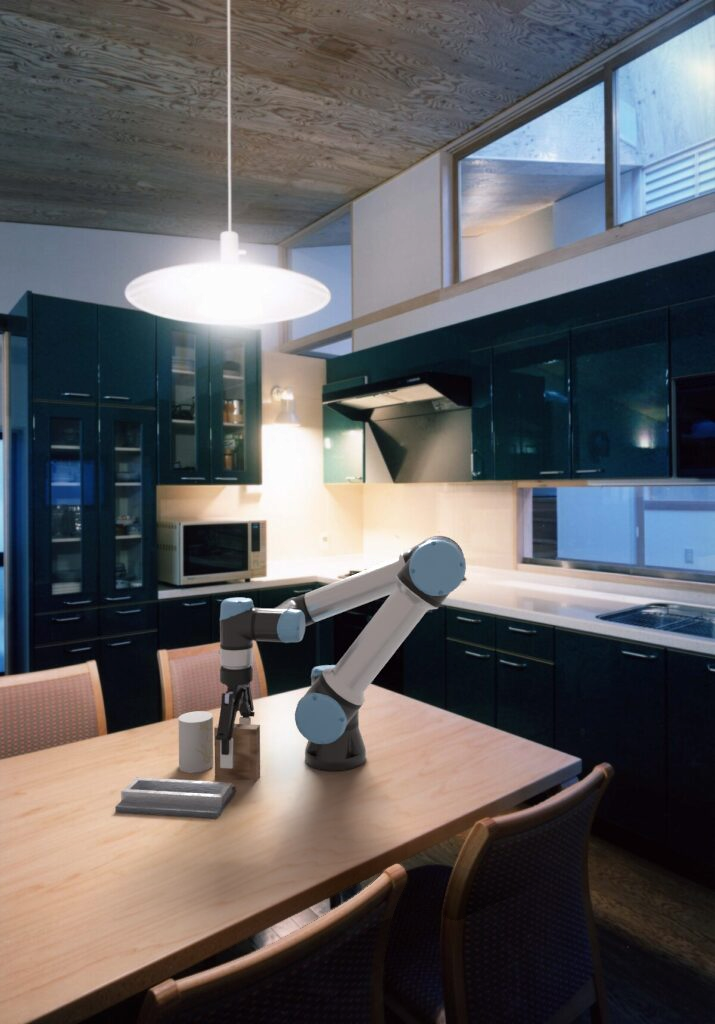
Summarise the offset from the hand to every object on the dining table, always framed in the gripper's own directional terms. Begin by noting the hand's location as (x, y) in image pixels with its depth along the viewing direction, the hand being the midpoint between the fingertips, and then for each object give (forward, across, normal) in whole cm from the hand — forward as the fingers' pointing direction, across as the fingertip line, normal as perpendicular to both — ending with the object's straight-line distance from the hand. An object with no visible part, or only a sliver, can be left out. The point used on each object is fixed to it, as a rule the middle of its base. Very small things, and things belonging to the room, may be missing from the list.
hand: (236, 755), depth 152 cm
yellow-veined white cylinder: (+5, -5, -12) cm, 14 cm away
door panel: (+5, 0, 0) cm, 5 cm away
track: (+5, +14, -9) cm, 17 cm away
